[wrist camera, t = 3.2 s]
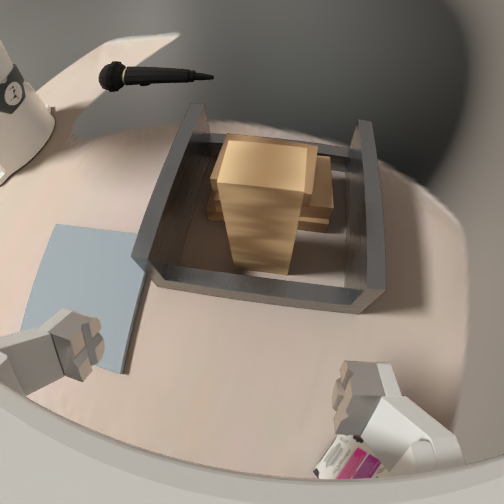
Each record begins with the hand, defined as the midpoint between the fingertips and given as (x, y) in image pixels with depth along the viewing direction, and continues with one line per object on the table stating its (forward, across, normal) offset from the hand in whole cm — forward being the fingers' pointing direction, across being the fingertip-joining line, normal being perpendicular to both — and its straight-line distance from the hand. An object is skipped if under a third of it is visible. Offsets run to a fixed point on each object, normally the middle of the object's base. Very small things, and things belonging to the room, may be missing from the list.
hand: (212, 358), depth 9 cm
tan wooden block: (+20, 0, +4) cm, 21 cm away
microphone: (+40, +22, -15) cm, 48 cm away
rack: (+23, 0, +1) cm, 23 cm away
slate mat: (+16, +18, +9) cm, 25 cm away
